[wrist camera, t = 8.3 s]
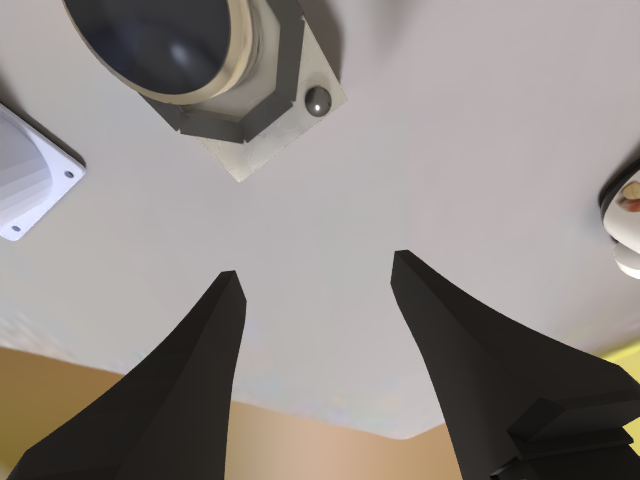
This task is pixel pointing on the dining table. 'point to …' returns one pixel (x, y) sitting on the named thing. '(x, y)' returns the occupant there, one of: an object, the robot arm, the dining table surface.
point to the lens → (172, 44)
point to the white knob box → (264, 96)
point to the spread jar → (624, 218)
